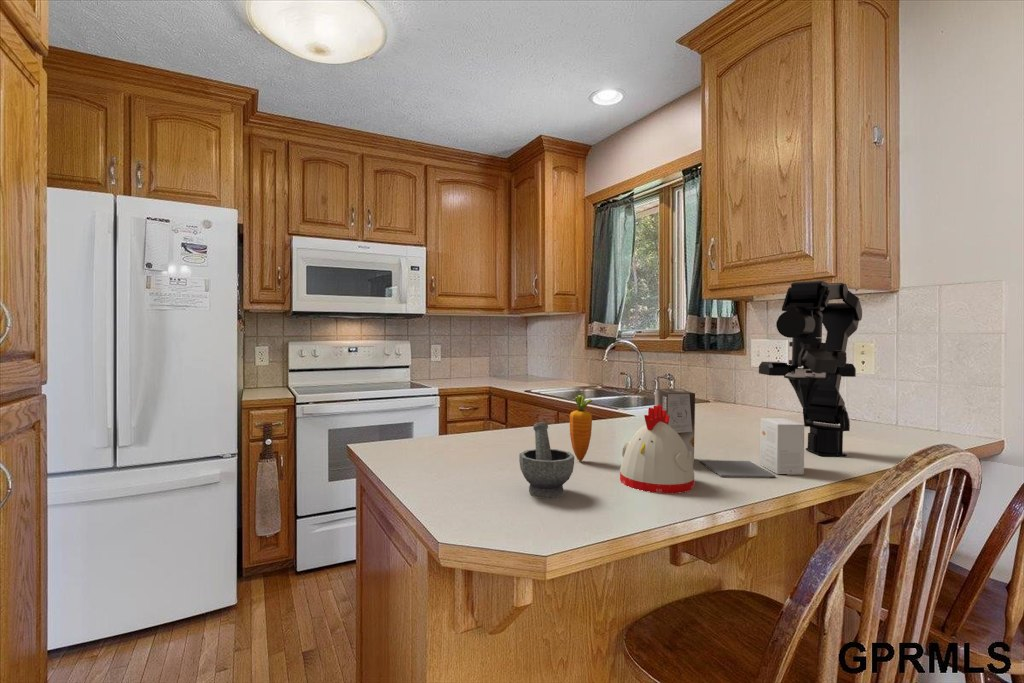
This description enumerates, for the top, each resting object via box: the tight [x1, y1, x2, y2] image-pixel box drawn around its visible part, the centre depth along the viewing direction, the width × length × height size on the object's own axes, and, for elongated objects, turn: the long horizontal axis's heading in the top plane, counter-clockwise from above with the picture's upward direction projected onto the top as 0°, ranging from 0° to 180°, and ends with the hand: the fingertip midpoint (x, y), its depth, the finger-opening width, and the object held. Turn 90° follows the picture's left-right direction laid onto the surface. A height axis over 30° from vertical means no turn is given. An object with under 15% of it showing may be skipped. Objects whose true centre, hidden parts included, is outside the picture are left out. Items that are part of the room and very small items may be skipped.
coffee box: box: [654, 388, 696, 467], centre depth 117 cm, size 9×6×16 cm
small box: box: [759, 417, 805, 476], centre depth 111 cm, size 8×6×10 cm
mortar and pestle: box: [518, 421, 575, 499], centre depth 94 cm, size 11×9×12 cm
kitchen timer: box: [619, 405, 695, 494], centre depth 101 cm, size 14×14×15 cm
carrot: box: [569, 394, 593, 462], centre depth 116 cm, size 5×5×15 cm
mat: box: [699, 459, 777, 478], centre depth 111 cm, size 11×12×1 cm
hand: (805, 407), depth 116 cm, fingers closed
